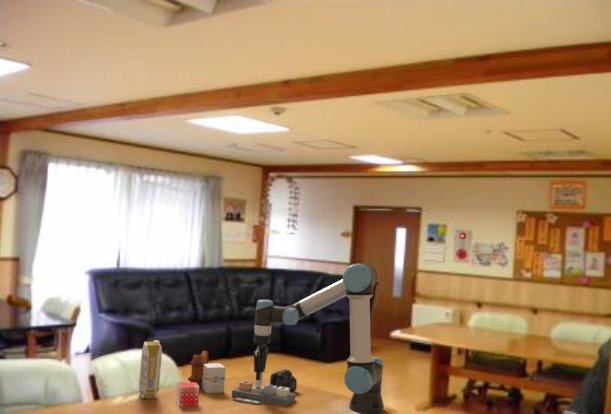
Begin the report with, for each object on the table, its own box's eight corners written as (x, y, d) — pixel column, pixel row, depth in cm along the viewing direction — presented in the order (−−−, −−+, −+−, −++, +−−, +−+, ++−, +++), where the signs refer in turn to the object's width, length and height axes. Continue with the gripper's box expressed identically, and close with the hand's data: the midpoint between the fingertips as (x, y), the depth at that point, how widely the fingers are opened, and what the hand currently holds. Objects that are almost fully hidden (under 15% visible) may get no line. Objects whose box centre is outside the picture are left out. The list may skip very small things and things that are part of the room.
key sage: (264, 395, 274) (264, 387, 275) (260, 397, 270) (260, 389, 270) (254, 393, 276) (255, 385, 276) (250, 396, 271) (251, 387, 272)
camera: (265, 390, 287) (267, 369, 287) (273, 385, 296) (274, 365, 297) (292, 394, 283) (293, 373, 283) (298, 389, 292) (300, 369, 293)
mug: (201, 389, 280) (204, 356, 280) (185, 386, 281) (187, 354, 282) (212, 382, 294) (215, 351, 294) (196, 379, 296) (199, 349, 296)
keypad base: (295, 400, 274) (295, 393, 274) (286, 406, 262) (286, 399, 262) (242, 391, 282) (242, 384, 282) (231, 397, 270) (232, 390, 270)
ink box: (201, 388, 281) (203, 363, 281) (218, 387, 284) (220, 362, 285) (206, 393, 273) (208, 367, 274) (224, 392, 277) (226, 367, 277)
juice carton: (158, 399, 259) (163, 342, 260) (139, 399, 256) (144, 342, 257) (155, 393, 268) (160, 338, 269) (137, 393, 265) (142, 338, 266)
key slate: (276, 393, 273) (277, 385, 273) (273, 396, 268) (273, 387, 268) (267, 392, 274) (267, 383, 274) (263, 394, 270) (264, 386, 270)
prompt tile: (261, 403, 264) (261, 401, 264) (258, 405, 261) (258, 403, 261) (236, 399, 268) (236, 397, 268) (233, 400, 265) (233, 398, 265)
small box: (176, 401, 258) (177, 382, 259) (194, 400, 261) (196, 382, 261) (179, 406, 251) (180, 387, 251) (197, 406, 254) (199, 387, 254)
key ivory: (289, 396, 271) (289, 387, 271) (285, 398, 266) (286, 389, 267) (279, 394, 272) (280, 385, 272) (276, 396, 268) (276, 388, 268)
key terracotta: (252, 389, 276) (252, 381, 276) (248, 392, 272) (248, 383, 272) (242, 388, 278) (243, 379, 278) (238, 390, 273) (239, 382, 274)
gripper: (260, 331, 281) (256, 382, 280) (249, 335, 269) (245, 388, 268) (275, 333, 279) (271, 384, 278) (264, 337, 267) (260, 391, 266)
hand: (258, 386), depth 273 cm, fingers closed
